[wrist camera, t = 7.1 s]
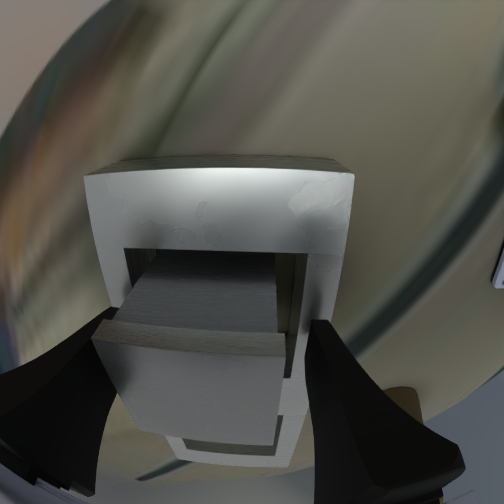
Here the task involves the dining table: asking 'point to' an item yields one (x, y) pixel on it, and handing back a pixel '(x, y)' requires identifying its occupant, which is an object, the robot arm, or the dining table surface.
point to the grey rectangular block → (199, 347)
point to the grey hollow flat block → (231, 249)
